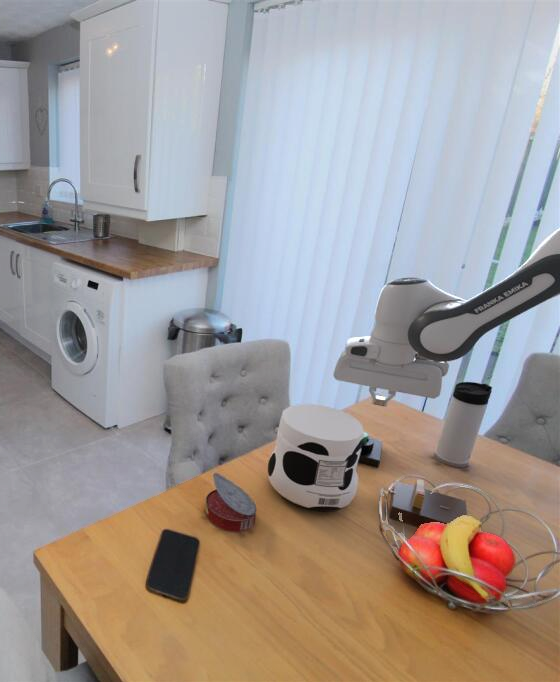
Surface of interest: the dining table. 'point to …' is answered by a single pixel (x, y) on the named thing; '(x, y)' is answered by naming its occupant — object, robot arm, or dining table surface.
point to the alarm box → (371, 452)
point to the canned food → (229, 506)
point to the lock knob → (418, 493)
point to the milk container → (316, 457)
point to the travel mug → (462, 423)
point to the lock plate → (424, 506)
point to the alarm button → (365, 437)
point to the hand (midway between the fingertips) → (379, 404)
